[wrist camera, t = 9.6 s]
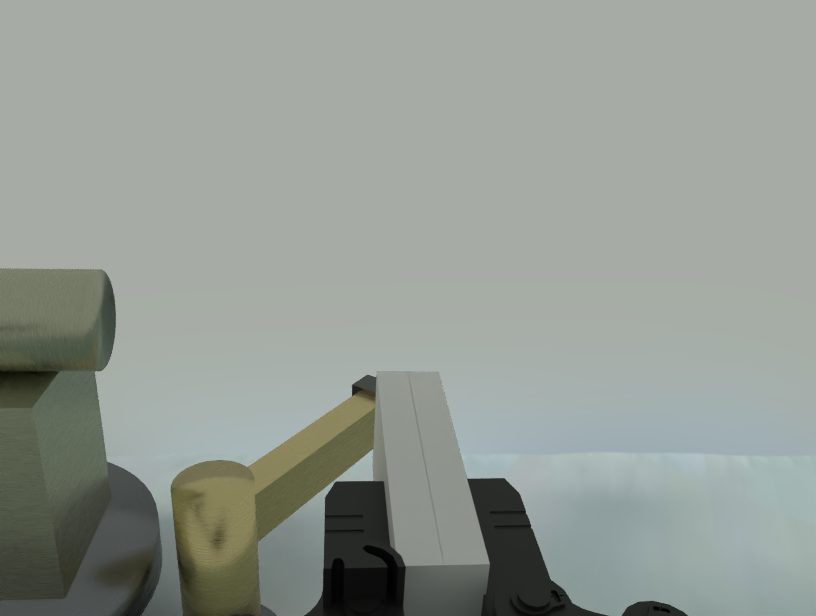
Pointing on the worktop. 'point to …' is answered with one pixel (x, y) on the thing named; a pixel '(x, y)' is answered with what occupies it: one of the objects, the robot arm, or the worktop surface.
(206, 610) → the lever
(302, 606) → the worktop surface
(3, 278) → the surveying level
